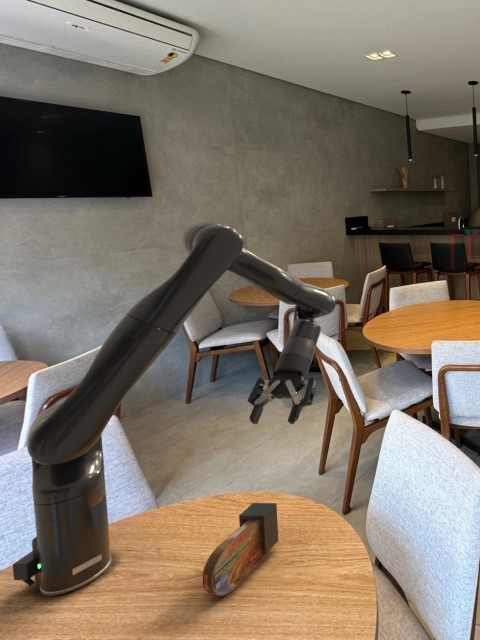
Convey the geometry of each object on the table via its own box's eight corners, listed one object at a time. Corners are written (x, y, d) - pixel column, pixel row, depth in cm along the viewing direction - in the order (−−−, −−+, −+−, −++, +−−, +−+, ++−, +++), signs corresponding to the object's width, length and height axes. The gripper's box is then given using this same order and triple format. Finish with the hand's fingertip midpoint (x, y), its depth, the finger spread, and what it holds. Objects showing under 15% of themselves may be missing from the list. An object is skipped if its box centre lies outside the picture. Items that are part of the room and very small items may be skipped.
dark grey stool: (241, 554, 82) (238, 515, 82) (254, 540, 86) (252, 502, 86) (265, 555, 82) (263, 515, 81) (278, 540, 86) (276, 503, 85)
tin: (215, 608, 72) (212, 562, 71) (199, 605, 72) (197, 560, 72) (279, 543, 86) (277, 505, 86) (266, 541, 87) (264, 503, 86)
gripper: (261, 351, 102) (232, 417, 91) (319, 351, 102) (297, 416, 92) (274, 365, 108) (248, 428, 97) (328, 365, 108) (309, 428, 97)
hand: (272, 422), depth 94 cm, fingers open, 8 cm apart
